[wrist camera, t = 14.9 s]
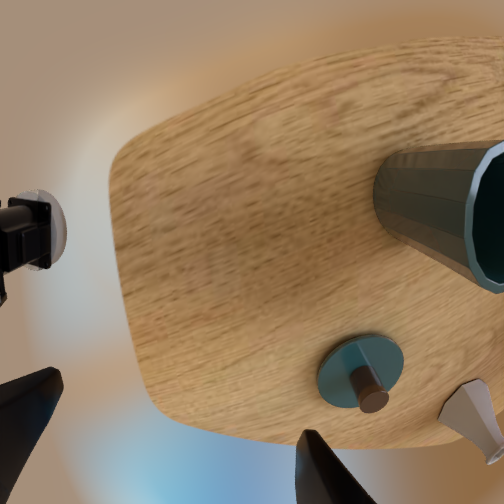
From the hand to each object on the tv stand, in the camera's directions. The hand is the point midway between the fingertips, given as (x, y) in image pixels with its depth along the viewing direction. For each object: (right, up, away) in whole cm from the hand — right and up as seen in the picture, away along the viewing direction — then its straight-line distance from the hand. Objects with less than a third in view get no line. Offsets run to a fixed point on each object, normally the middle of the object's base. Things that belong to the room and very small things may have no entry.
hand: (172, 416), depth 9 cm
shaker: (+15, +10, +11) cm, 21 cm away
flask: (+28, -12, +16) cm, 35 cm away
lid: (+12, -5, +14) cm, 19 cm away
